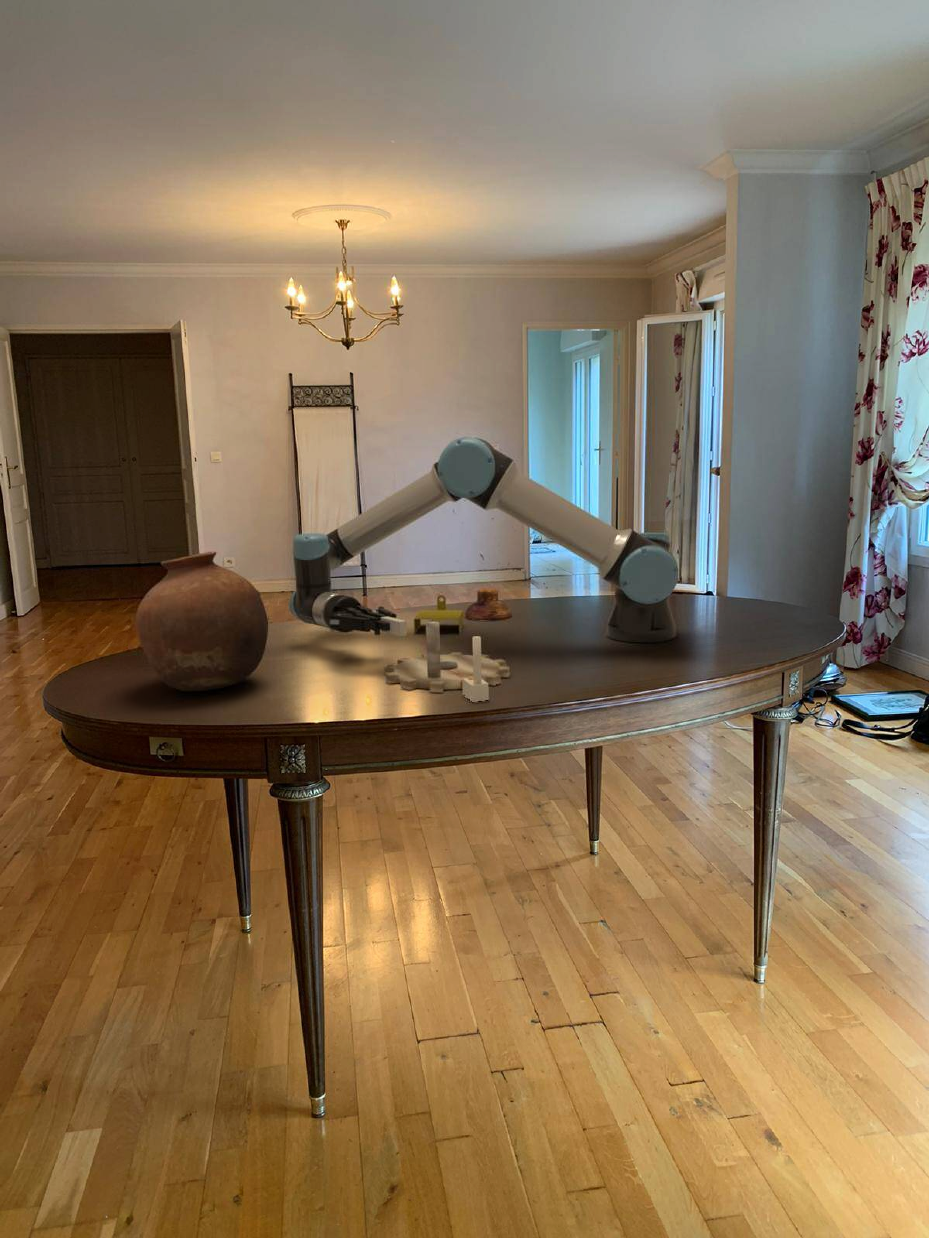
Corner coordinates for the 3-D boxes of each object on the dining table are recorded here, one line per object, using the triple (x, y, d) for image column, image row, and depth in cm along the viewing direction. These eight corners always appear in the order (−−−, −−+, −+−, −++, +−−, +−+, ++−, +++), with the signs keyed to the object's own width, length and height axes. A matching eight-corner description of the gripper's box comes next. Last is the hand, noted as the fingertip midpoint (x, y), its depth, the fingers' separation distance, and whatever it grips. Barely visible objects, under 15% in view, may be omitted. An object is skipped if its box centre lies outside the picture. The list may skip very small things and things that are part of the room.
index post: (462, 694, 153) (461, 633, 151) (478, 693, 154) (477, 632, 152) (472, 702, 149) (470, 639, 146) (488, 700, 150) (487, 637, 147)
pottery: (277, 696, 155) (267, 556, 150) (138, 710, 149) (124, 564, 144) (267, 666, 177) (259, 542, 172) (146, 677, 170) (133, 549, 165)
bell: (455, 617, 222) (454, 589, 221) (492, 611, 229) (491, 583, 228) (484, 624, 213) (484, 594, 212) (521, 617, 220) (521, 589, 219)
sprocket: (460, 653, 182) (459, 599, 180) (534, 676, 164) (533, 615, 161) (362, 673, 169) (359, 614, 166) (431, 699, 150) (429, 634, 148)
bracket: (399, 607, 198) (409, 595, 212) (401, 640, 199) (410, 626, 214) (468, 606, 196) (473, 594, 211) (469, 640, 198) (473, 626, 212)
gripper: (365, 625, 187) (432, 642, 169) (311, 635, 179) (375, 654, 161) (363, 590, 185) (430, 603, 167) (309, 598, 177) (373, 613, 159)
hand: (403, 628), depth 164 cm, fingers closed
